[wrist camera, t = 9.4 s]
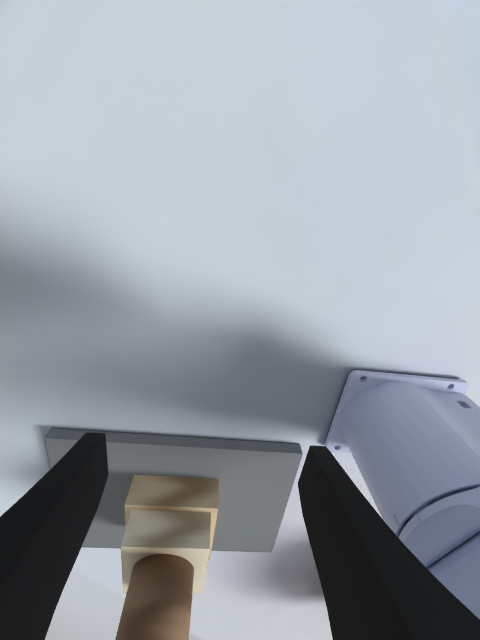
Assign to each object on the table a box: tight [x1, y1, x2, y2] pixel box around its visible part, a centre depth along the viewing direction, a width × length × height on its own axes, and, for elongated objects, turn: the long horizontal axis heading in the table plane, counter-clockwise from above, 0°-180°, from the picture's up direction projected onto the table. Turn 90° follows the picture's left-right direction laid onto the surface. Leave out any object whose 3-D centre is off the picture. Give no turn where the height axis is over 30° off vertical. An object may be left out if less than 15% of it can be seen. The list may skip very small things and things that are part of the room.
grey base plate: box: [45, 428, 302, 552], centre depth 26 cm, size 20×14×1 cm
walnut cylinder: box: [116, 554, 194, 640], centre depth 19 cm, size 4×4×5 cm
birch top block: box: [121, 509, 211, 594], centre depth 22 cm, size 6×6×2 cm
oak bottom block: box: [125, 475, 219, 560], centre depth 25 cm, size 7×7×2 cm
